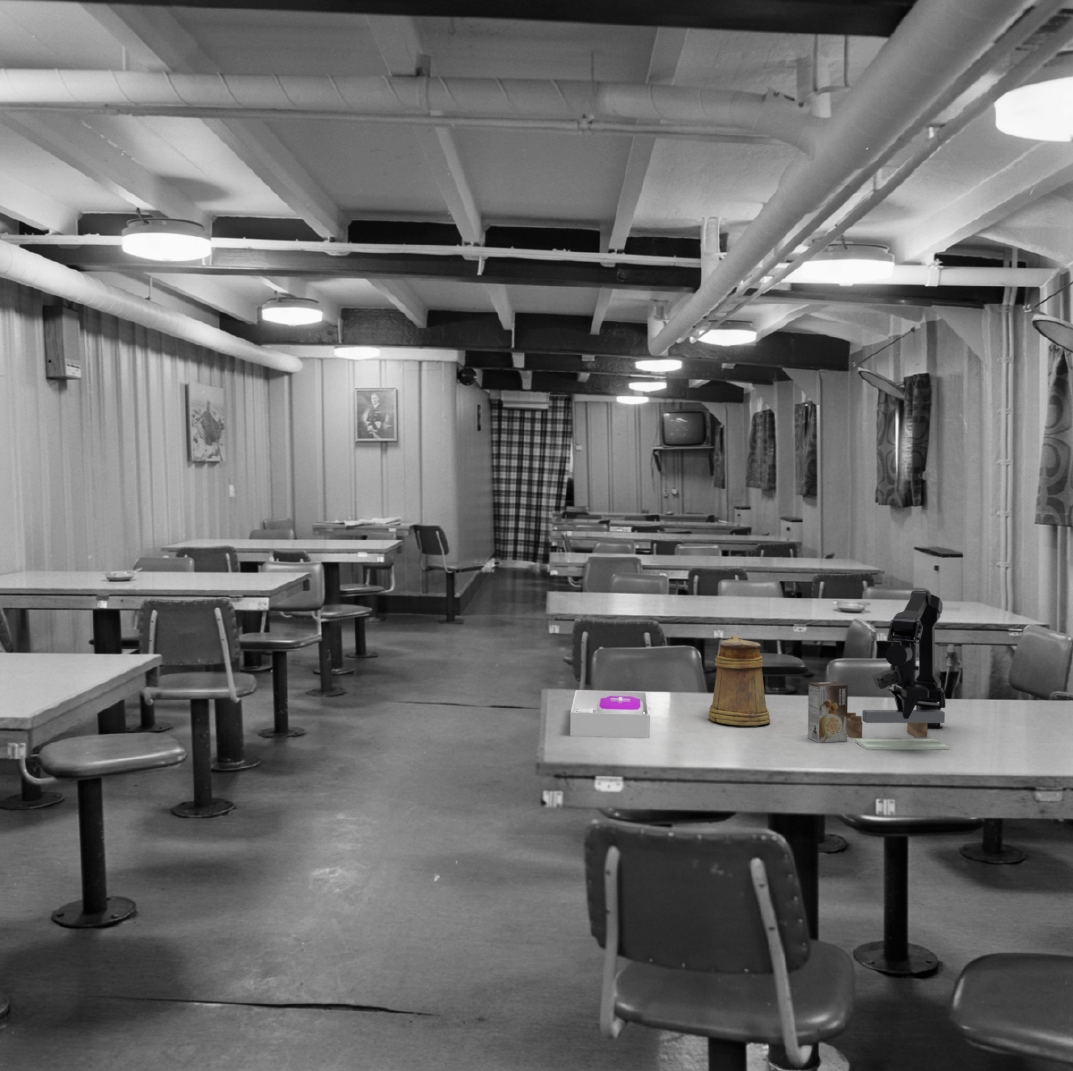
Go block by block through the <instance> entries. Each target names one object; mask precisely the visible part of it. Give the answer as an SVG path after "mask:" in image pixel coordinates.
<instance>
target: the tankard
mask: <svg viewBox="0 0 1073 1071" xmlns="http://www.w3.org/2000/svg"><path fill="white" fill-rule="evenodd" d="M718 645H719V651H718V654H717V655H716V658H715V662H714V663H715V664H714V666H716V675H715V682H714V690H713V696H712V704H711V705H710V706H709V711H708V717H709V720H711V722H713V723H718V724H723V725H729V726H730V725H731V726H760V725H761V726H762V725H767V724H769V723H771V719H770V715H771V714H770V711H769V709H768V708H767V703H766V702H767V701H766V695H765V686H764V677H763V675H764V674H763V668H762V667H763V666H764V663H763V662H764V659H763V656H762V655H761V652H760V648H761V643H759V642H757V641H750V640H745V639H741V638H740V639H739V637H738V635H737V634H736V635H735V634H732V635H731V638H728V639H724V640H721V641H720V642H719V644H718Z"/></svg>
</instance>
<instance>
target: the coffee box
mask: <svg viewBox="0 0 1073 1071" xmlns="http://www.w3.org/2000/svg"><path fill="white" fill-rule="evenodd" d="M848 688H849V687H848V684H846V683H842V682H839V681H817V682H816V681H815V682H808V696H807V698H808V699H807V701H808V704H807V706H808V707H807V714H808V715H807V716H808V717H807V720H808V721H807V738H808V739H809V740H812V741H814V742H816V743H819V744H820V743H821V744H823V743H835V742H836V743H837V742H848V735H847V712H848V705H849V704H848V701H849V700H848V696H849V695H848V691H849V690H848Z"/></svg>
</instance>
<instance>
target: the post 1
mask: <svg viewBox="0 0 1073 1071" xmlns="http://www.w3.org/2000/svg"><path fill="white" fill-rule="evenodd" d="M847 737H850V738H851V739H863V721H862V715H857V713H856V712H854V711H853V712H851V711H849V712H848V711H847Z"/></svg>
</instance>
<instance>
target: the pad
mask: <svg viewBox="0 0 1073 1071" xmlns="http://www.w3.org/2000/svg"><path fill="white" fill-rule="evenodd" d="M854 743H856V744H857V745H858V746H860V747H862V748H863V749H865V750H882V751H883V750H885V751H886V750H893V751H894V750H899V751H900V750H901V751H902V750H906V751H907V750H910V751H911V750H917V751H918V750H920V751H921V750H924V751H925V750H930V749H949V750H950V746H948V745H946V744H945V743H943V742H942V741H939V740H937V739H935V738H930V739H929V738H901V739H900V738H854Z"/></svg>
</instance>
